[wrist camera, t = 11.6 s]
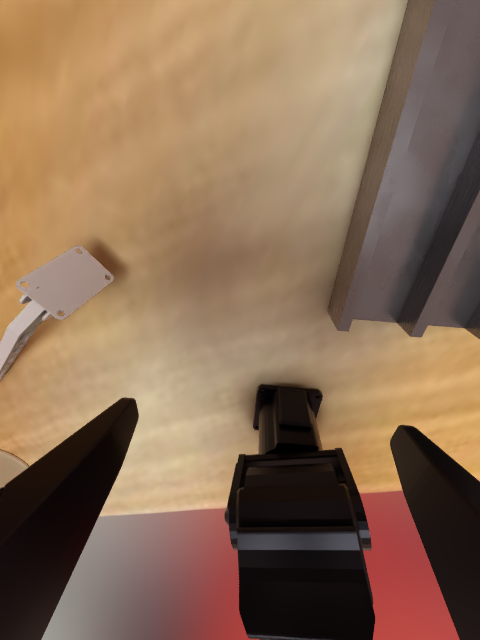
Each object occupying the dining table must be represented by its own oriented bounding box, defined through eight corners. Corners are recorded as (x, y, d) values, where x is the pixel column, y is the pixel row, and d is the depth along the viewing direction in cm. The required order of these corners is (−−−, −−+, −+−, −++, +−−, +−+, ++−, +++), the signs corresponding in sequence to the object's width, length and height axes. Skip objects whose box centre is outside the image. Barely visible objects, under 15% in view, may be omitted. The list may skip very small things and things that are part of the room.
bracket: (117, 277, 18) (-29, 391, 12) (69, 335, 33) (-6, 399, 27) (80, 242, 17) (-100, 349, 11) (48, 319, 32) (-35, 382, 26)
